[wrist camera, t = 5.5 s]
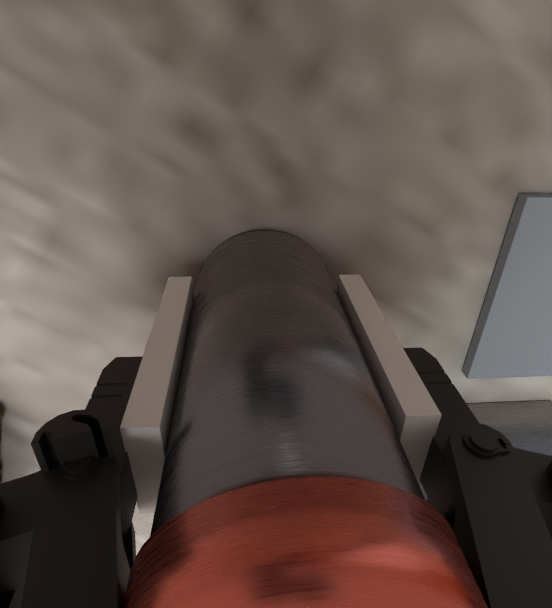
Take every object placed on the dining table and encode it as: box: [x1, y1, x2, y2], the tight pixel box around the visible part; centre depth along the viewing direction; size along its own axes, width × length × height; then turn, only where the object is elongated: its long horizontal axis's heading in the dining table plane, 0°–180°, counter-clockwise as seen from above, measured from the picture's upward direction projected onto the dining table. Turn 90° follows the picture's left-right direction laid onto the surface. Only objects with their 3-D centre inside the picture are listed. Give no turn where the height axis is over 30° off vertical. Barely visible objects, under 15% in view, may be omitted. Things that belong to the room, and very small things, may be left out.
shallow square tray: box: [419, 400, 552, 501], centre depth 20 cm, size 14×14×6 cm
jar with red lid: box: [123, 230, 488, 608], centre depth 10 cm, size 5×5×12 cm
